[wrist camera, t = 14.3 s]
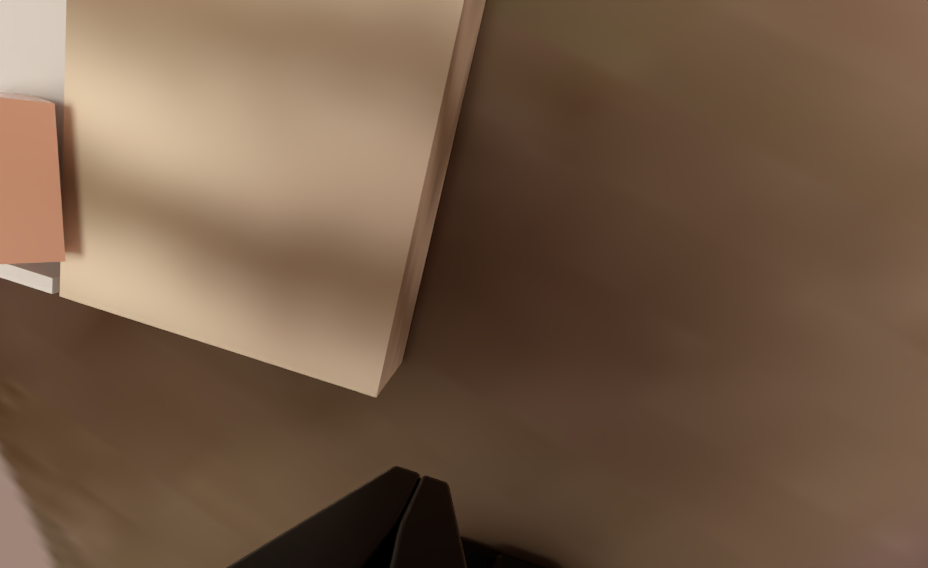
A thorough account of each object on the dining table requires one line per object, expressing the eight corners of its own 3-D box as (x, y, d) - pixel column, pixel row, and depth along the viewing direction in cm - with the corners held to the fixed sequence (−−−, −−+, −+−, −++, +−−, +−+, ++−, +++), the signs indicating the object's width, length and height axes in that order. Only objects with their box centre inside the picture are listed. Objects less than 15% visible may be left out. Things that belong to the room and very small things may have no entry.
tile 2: (65, 261, 18) (-15, 265, 17) (48, 229, 21) (-20, 229, 20) (54, 103, 17) (-34, 94, 15) (38, 96, 20) (-35, 88, 19)
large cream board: (401, 362, 21) (376, 397, 18) (124, 276, 22) (59, 296, 19) (550, -275, 15) (546, -371, 12) (161, -344, 16) (77, -445, 14)
